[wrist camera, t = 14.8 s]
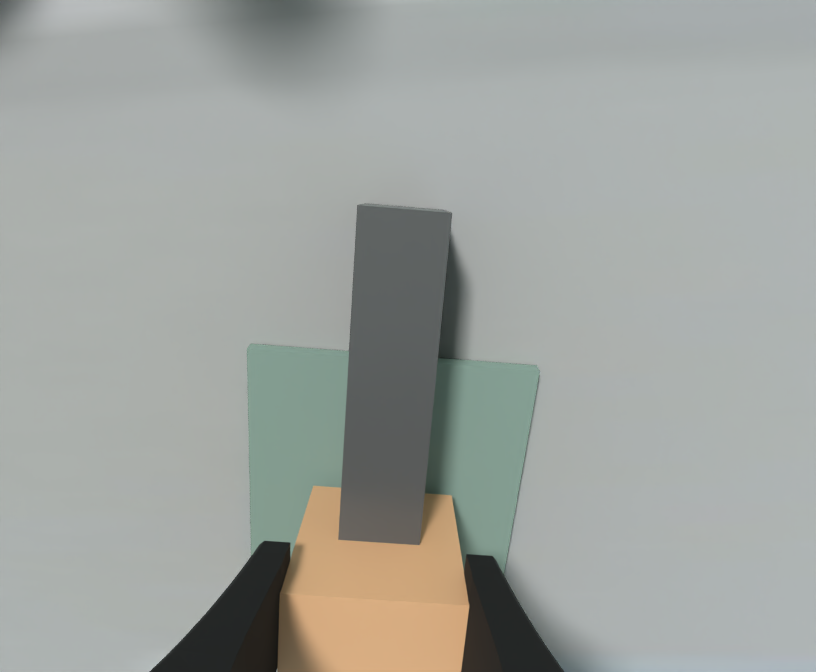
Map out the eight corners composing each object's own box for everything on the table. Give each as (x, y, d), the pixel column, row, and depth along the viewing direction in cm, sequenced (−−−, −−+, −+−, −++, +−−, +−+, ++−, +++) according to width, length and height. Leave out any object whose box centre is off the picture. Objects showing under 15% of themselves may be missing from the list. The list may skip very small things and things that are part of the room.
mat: (536, 365, 16) (539, 371, 15) (497, 587, 18) (499, 596, 18) (250, 343, 16) (246, 349, 15) (255, 571, 18) (251, 580, 18)
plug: (482, 213, 14) (517, 221, 10) (435, 639, 17) (446, 788, 13) (325, 200, 14) (291, 201, 10) (307, 631, 17) (274, 778, 13)
